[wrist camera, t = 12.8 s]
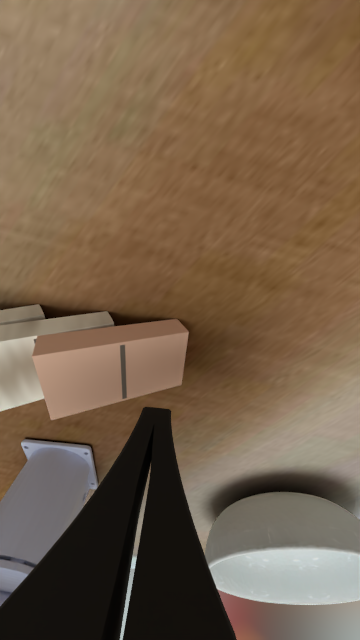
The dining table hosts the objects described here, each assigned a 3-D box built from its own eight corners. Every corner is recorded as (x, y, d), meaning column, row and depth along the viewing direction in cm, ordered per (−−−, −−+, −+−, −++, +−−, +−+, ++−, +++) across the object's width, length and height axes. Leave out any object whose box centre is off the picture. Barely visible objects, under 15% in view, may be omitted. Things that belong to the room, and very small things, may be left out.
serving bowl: (235, 451, 23) (251, 536, 17) (392, 485, 25) (457, 572, 19) (183, 522, 33) (182, 592, 27) (300, 542, 35) (324, 613, 28)
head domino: (181, 385, 16) (51, 420, 13) (171, 368, 18) (53, 395, 14) (188, 332, 14) (31, 356, 10) (177, 318, 16) (37, 335, 12)
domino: (117, 377, 16) (-37, 422, 12) (111, 362, 18) (-28, 397, 13) (114, 323, 14) (-79, 354, 10) (107, 311, 15) (-62, 333, 11)
